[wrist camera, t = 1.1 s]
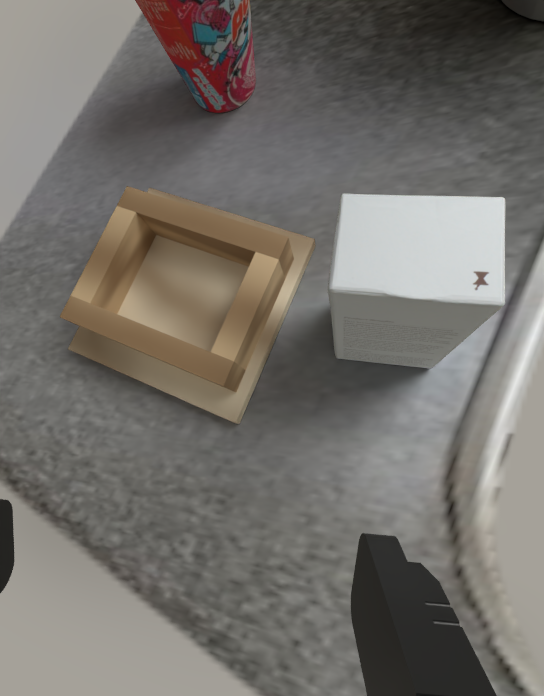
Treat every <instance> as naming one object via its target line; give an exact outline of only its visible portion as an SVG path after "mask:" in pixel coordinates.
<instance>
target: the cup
mask: <svg viewBox="0 0 544 696" xmlns="http://www.w3.org/2000/svg"><path fill="white" fill-rule="evenodd" d="M135 1H136V2H137V4H138V6H139V7H140V9H141V11H142V12H143V14H144V16H145V17H146V19H147V21H148V22H149V24H150V26H151V27H152V29H153V31H154V32H155V34H156V36H157V37H158V39H159V41H160V42H161V44H162V46H163V47H164V49H165V51H166V52H167V54H168V56H169V57H170V59H171V61H172V62H173V64H174V65H175V67H176V69H177V70H178V72H179V74H180V75H181V77H182V79H183V80H184V82H185V84H186V85H187V87H188V89H189V90H190V92H191V94H192V95H193V97H194V99H195V100H196V102H197V104H198V105H199V106H200V107H202V108H203V109H205V110H207V111H209V112H214V113H222V112H228V111H231V110H234V109H236V108H238V107H240V106H241V105H243V104H244V103H245V102H246V101H247V100H248V99H249V98H250V96H251V95H252V93H253V91H254V88H255V84H256V76H255V63H254V50H253V37H252V23H251V11H250V0H135Z"/></svg>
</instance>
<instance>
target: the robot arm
mask: <svg viewBox="0 0 544 696" xmlns="http://www.w3.org/2000/svg"><path fill="white" fill-rule="evenodd" d="M501 1H502V2H503V3H504V4H505V5H506V6H507V7H508V8H510V9H512V10H513V11H515V12H516V13H518V14H520V15H522V16H525V17H527V18H530V19H534V20H539V21H544V0H501ZM13 566H14V537H13V511H12V505H11V503H10V502H9V501H8V500H2V499H0V593H1V592H2V591H3V589H4V588H5V586H6V584H7V583H8V581H9V578H10V576H11V573H12V570H13ZM351 616H352V624H353V629H354V634H355V638H356V643H357V648H358V653H359V658H360V663H361V668H362V672H363V677H364V682H365V687H366V692H367V696H496V694H495V692H494V690H493V688H492V686H491V684H490V682H489V680H488V678H487V676H486V674H485V672H484V670H483V668H482V666H481V664H480V662H479V660H478V658H477V656H476V654H475V652H474V650H473V648H472V646H471V644H470V642H469V640H468V638H467V636H466V634H465V632H464V630H463V628H462V627H460V625H459V620H458V618H457V616H456V614H455V612H454V610H453V609H452V608H450V603H449V601H448V599H447V597H446V595H445V593H444V591H443V589H442V587H441V585H440V583H439V581H438V580H437V579H436V578H435V577H434V576H433V575H432V574H431V573H430V572H429V571H428V570H427V569H426V568H425V567H424V566H423V565H422V564H421V563H414V562H407V560H406V557H405V555H404V553H403V550H402V548H401V546H400V543H399V541H398V539H397V538H396V537H395V536H387V535H376V534H365V533H362V534H361V536H360V539H359V545H358V552H357V558H356V565H355V571H354V578H353V585H352V592H351Z"/></svg>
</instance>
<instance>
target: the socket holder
mask: <svg viewBox="0 0 544 696" xmlns="http://www.w3.org/2000/svg"><path fill="white" fill-rule="evenodd" d="M314 248H315V239H313V238H309V237H306V236H303V235H300V234H297V233H293V232H290V231H287V230H284V229H281V228H277V227H274V226H271V225H268V224H264V223H261V222H258V221H255V220H252V219H248V218H245V217H242V216H239V215H236V214H232V213H229V212H226V211H223V210H220V209H216V208H213V207H210V206H207V205H203V204H200V203H197V202H194V201H191V200H187V199H184V198H181V197H178V196H175V195H171V194H168V193H165V192H162V191H159V190H155V189H152V188H149V189H148V191H147V192H144V191H141V190H138V189H134V188H131V187H128V186H127V187H126V189H125V191H124V193H123V195H122V197H121V199H120V201H119V203H118V205H117V207H116V208H115V210H114V212H113V214H112V216H111V218H110V220H109V222H108V224H107V226H106V228H105V230H104V232H103V234H102V236H101V238H100V240H99V241H98V243H97V245H96V247H95V249H94V251H93V253H92V255H91V257H90V259H89V261H88V263H87V265H86V267H85V269H84V271H83V273H82V275H81V276H80V278H79V280H78V282H77V284H76V286H75V288H74V290H73V292H72V294H71V296H70V298H69V300H68V302H67V304H66V306H65V308H64V309H63V311H62V313H61V315H60V317H61V318H63V319H65V320H67V321H70V322H72V323H74V324H76V325H78V326H79V328H78V330H77V332H76V334H75V336H74V338H73V340H72V342H71V344H70V346H69V348H68V349H69V350H71V351H73V352H75V353H78V354H80V355H82V356H85V357H87V358H89V359H91V360H94V361H96V362H98V363H100V364H103V365H105V366H107V367H109V368H112V369H114V370H116V371H118V372H121V373H123V374H125V375H127V376H130V377H132V378H134V379H136V380H139V381H141V382H143V383H145V384H148V385H150V386H152V387H155V388H157V389H159V390H161V391H164V392H166V393H168V394H170V395H173V396H175V397H177V398H179V399H182V400H184V401H186V402H188V403H191V404H193V405H195V406H197V407H200V408H202V409H204V410H206V411H209V412H211V413H213V414H215V415H218V416H220V417H222V418H225V419H227V420H229V421H231V422H234V423H236V424H240V422H241V419H242V417H243V415H244V412H245V410H246V408H247V405H248V403H249V400H250V398H251V396H252V393H253V391H254V389H255V386H256V384H257V382H258V379H259V377H260V375H261V372H262V370H263V368H264V365H265V363H266V361H267V358H268V356H269V354H270V351H271V349H272V347H273V344H274V342H275V340H276V337H277V335H278V333H279V330H280V328H281V326H282V323H283V321H284V318H285V316H286V314H287V311H288V309H289V307H290V304H291V302H292V300H293V297H294V295H295V293H296V290H297V288H298V286H299V283H300V281H301V279H302V276H303V274H304V272H305V269H306V267H307V265H308V262H309V260H310V258H311V255H312V253H313V251H314Z"/></svg>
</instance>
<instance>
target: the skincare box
mask: <svg viewBox="0 0 544 696" xmlns="http://www.w3.org/2000/svg"><path fill="white" fill-rule="evenodd" d="M328 294H329V301H330V308H331V317H332V328H333V339H334V350H335V357H336V358H338V359H346V360H356V361H365V362H374V363H383V364H392V365H402V366H411V367H421V368H429V369H431V368H433V367H434V366H435V365H436V364H437V363H439V362H440V361H441V360H442V359H443V358H444V357H445V356H446V355H448V354H449V353H450V352H451V351H452V350H453V349H455V348H456V347H457V346H458V345H459V344H460V343H461V342H463V341H464V340H465V339H466V338H467V337H468V336H469V335H470V334H472V333H473V332H474V331H475V330H476V329H477V328H478V327H479V326H481V325H482V324H483V323H484V322H485V321H486V320H488V319H489V318H490V317H491V316H492V315H494V314H495V313H496V312H497V311H498V310H499V309H500V308H501V307H503V306H504V304H505V199H504V198H502V197H464V196H407V195H365V194H342V195H341V198H340V204H339V211H338V217H337V224H336V231H335V238H334V245H333V253H332V260H331V267H330V275H329V284H328Z"/></svg>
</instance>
